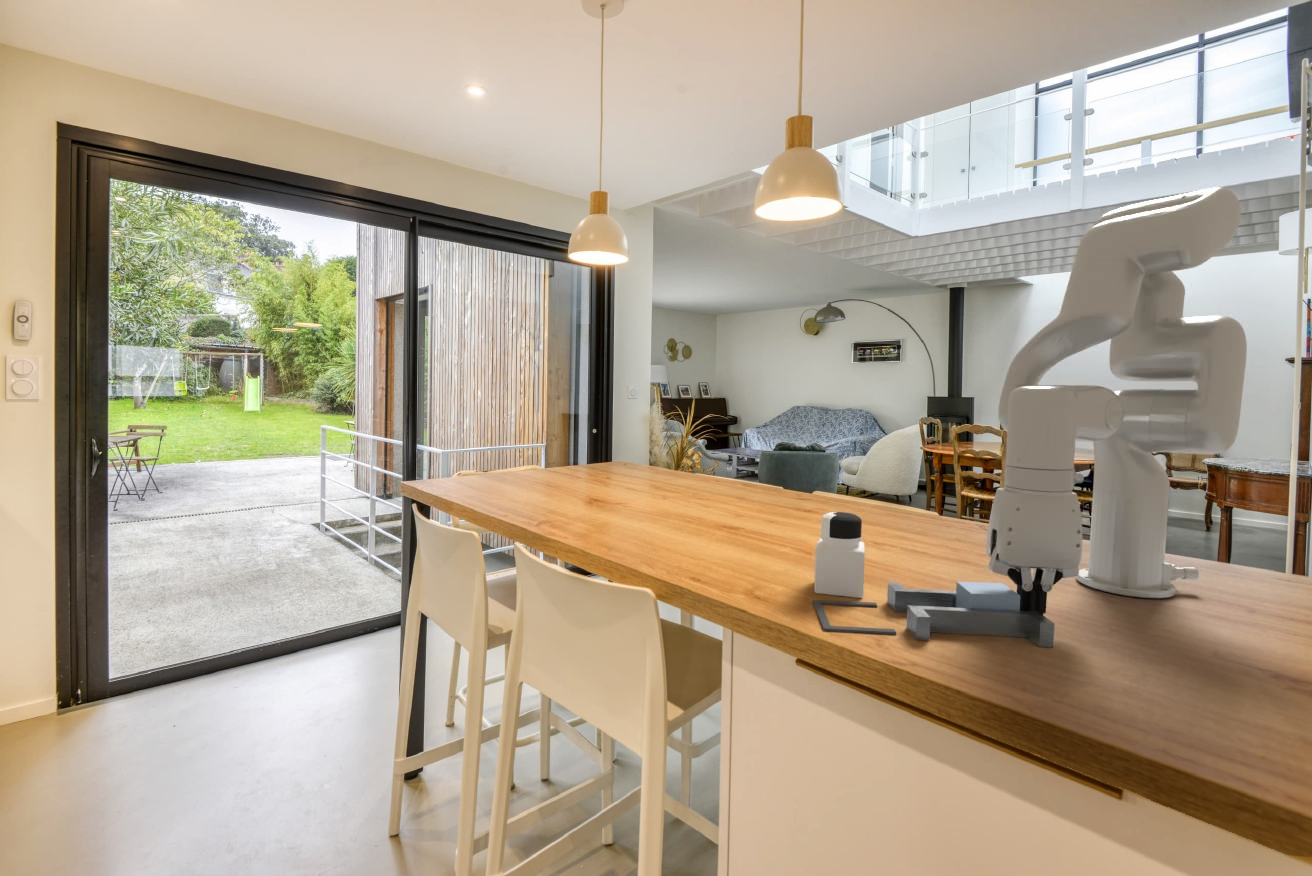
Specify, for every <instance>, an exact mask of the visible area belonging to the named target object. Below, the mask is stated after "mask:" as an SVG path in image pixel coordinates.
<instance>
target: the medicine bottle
mask: <svg viewBox="0 0 1312 876" xmlns="http://www.w3.org/2000/svg"><path fill="white" fill-rule="evenodd" d="M862 523H863V521H862V518H861V517H860V516H858V515H857V514H855V513H850V512H844V511H843V512H842V511H833V512H830V511H829V512H827V513H825V514H823V515H822V516H821V520H820V538H819V539H818V541H817V543H816V547H815V549H814V551H815V553H814V554H815V556H814V560H815V561H814V592H815V594H819V595H820V594H821V595H830V596H839V597H846V598H855V599H856V598H857V599H862V598H863V597H864V586H865V585H864V584H865V581H864V580H865V555H866V553H865V552H866V551H865V544H866V543H865V542H864V541H862V529H863V527H862V526H863V525H862Z"/></svg>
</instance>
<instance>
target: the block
mask: <svg viewBox="0 0 1312 876" xmlns="http://www.w3.org/2000/svg"><path fill="white" fill-rule="evenodd" d="M955 586H956V590H955V591H956V608H974V609H995V610H1016V611H1020V595H1019V594H1017V591H1015V590H1013V589H1011V588H1010V587H1008V586H1007V585H1006V584H1004V583H1003V582H1001V583H1000V582H980V581H979V582H975V581H956V585H955Z"/></svg>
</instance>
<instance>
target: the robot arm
mask: <svg viewBox="0 0 1312 876" xmlns="http://www.w3.org/2000/svg"><path fill="white" fill-rule="evenodd" d="M1241 208H1242V207H1241V205H1240V201H1239V198H1238V197H1237V195H1236V194H1235V193H1234V192H1233V191H1231V190H1230V189H1228V188H1226V187H1211V188H1206V189H1200V190H1197V191H1192V192H1188V193H1182V194H1178V195H1174V196H1168V197H1164V198H1158V199H1153V200H1152V199H1151V200H1148V201H1143V202H1139V203H1134V204H1130V205H1127V206H1123V207H1119V208H1117V209H1114V210H1111V211H1109V212H1106V213H1104V214H1103V215H1101V216H1100V217H1098V218H1097V220H1096V221H1095V222H1094V224H1093V226H1092V227H1091V228H1090V229H1088V230H1087V231H1086V232H1085V233H1084V234H1083V236H1082V238H1081V239H1080V242H1079V244H1078V247H1077V251H1076V253H1075V258H1074V261H1073V265H1072V268H1071V271H1070V274H1069V279H1068V282H1067V286H1066V288H1065V289H1066V291H1065V293H1064V296H1063V300H1062V302H1061V303H1062V304H1061V308H1060V311H1059V314H1058V315H1057V316H1056V317H1055V318H1054V319H1053V320H1052V321H1051V322H1049V323H1048V324H1047V325H1045V326H1044V327H1043V328H1042V329H1040V330H1039V331H1038V332H1037V333H1036V334H1034V335H1033V337H1031V338H1030V339H1029V340H1028V341H1027V342H1026V343H1025V345H1024V346H1022V347H1021V349H1020V350H1019V351H1018V352H1017V354H1016V355H1015V356H1014V357H1013V359H1012V360H1011V363H1010V364H1009V366H1008V367H1009V368H1008V369H1007V373H1006V375H1005V380H1004V382H1003V385H1002V386H1003V387H1002V389H1001V393H1000V396H999V401H998V402H999V403H998V409H997V410H998V413H997V414H998V421H999V424H1000V426H1001V428H1002V429H1003V430H1004V432H1006V434H1007V435H1006V449H1005V450H1006V451H1005V453H1006V454H1005V467H1004V468H1005V470H1004V486H1003V487H998V488H997V489H996V492H995V495H994V499H993V502H992V506H991V510H990V517H989V521H988V527H987V528H988V529H987V536H986V554H987V556H988V557H990V559H989V562H988V566H987V568H988V570H990V571H991V572H992V573H995V574H998V575H1001V576H1006V577H1008V578H1009V579H1010V580H1011V581H1012V582H1013V583H1014V585H1016V593H1017V594H1019V595H1020V611H1036V612H1039V613H1041V614H1042V615H1043V616H1044V614H1046V612H1047V602H1048V601H1047V597H1048V593H1049V592H1051V591H1052V590H1053V586H1055V585H1056V584H1057V583H1058V582H1059V581H1061V580H1062V579H1068V578H1073V577H1075V578H1076V580H1077V581H1078V582H1080V583H1081V584H1083V585H1085V586H1087V587H1090V588H1092V589H1095V590H1098V591H1102V592H1107V593H1111V594H1116V595H1120V596H1127V597H1133V598H1134V597H1135V598H1142V599H1144V598H1145V599H1167V598H1172V597H1174V596H1175V595H1176V588H1177V587H1176V586H1175V585H1174V584H1173V583H1171V582H1174V581H1176V580H1177V579H1181V580H1192V581H1196V580H1198V578H1199V577H1200V576H1199V575H1200V574H1199V571H1198V569H1197V567H1194V566H1193V567H1192V566H1191V567H1190V566H1179V567H1178V566H1177V565H1176V564H1172V563H1170V562H1167V561H1166V560H1165V557H1166V544H1167V543H1166V542H1167V528H1168V516H1169V502H1170V489H1171V483H1170V479H1169V478H1170V477H1169V476H1168V473H1167V472H1166V470H1165V468H1164V467H1163V466H1162V464H1160V462H1159V461H1158V460H1157V459H1156V457H1155V456H1154V455H1153V453H1174V454H1175V453H1176V454H1186V455H1187V454H1188V455H1189V454H1191V455H1219V454H1223V453H1225V452H1227V451H1229V450H1230V449H1231V447H1232V446H1233V445H1234V444H1235V442H1236V438H1237V435H1238V433H1239V432H1238V431H1239V426H1240V420H1241V419H1240V417H1241V410H1242V401H1243V391H1244V382H1245V374H1246V365H1247V350H1248V349H1247V347H1248V346H1247V335H1246V333H1245V331H1244V328H1243V326H1242V324H1240V323H1241V322H1239V321H1238V320H1236V319H1235V318H1233V317H1230V316H1224V315H1204V316H1192V317H1191V316H1189V317H1184V315H1183V314H1184V305H1185V304H1184V303H1185V297H1186V296H1185V295H1186V288H1185V285H1184V283H1183V281H1182V280H1181V279H1180V278H1179V276H1177V274H1176V273H1175V272H1176V271H1183V270H1188V269H1194V268H1196V267H1197V268H1198V267H1199V266H1201V265H1203V264H1204V263H1206V262H1208V261H1209V260H1210V259H1211V258H1212V257H1214V256H1215V255H1217V254H1219V252H1220V251H1221V250H1223V249H1224V248H1225V247H1227V245H1228V244H1230V243H1231V241H1232V240H1233V238H1234V237H1235V235H1236V234H1237V231H1238V229H1239V227H1240V223H1241V218H1242V217H1241V216H1242V211H1241ZM1108 340H1110V345H1109V358H1108V359H1109V369H1110V371H1111V373H1112V375H1113V376H1114V377H1116V378H1117V379H1120V380H1123V381H1129V382H1193V383H1196V385H1197V389H1165V388H1163V389H1156V388H1155V389H1151V388H1150V389H1149V388H1148V389H1146V388H1145V389H1143V388H1142V389H1138V388H1137V389H1136V388H1135V389H1120V390H1115V391H1114V390H1112V389H1109V388H1107V387H1104V386H1101V385H1094V384H1092V385H1091V384H1090V385H1088V384H1087V385H1086V384H1085V385H1083V384H1082V385H1081V384H1079V385H1078V384H1077V385H1073V384H1072V385H1071V384H1070V385H1066V384H1057V385H1056V384H1050V385H1049V384H1048V385H1047V384H1045V385H1044V384H1043V385H1041V384H1040V385H1039V383H1040V382H1041V380H1042V378H1043V377H1044V376H1045V374H1047V373H1048V371H1049V370H1050V369H1051V368H1053V367H1054V366H1055V365H1057V364H1058V363H1059V362H1062V361H1063V360H1065V359H1066V358H1067V359H1068V358H1069V357H1071V356H1073V355H1075V354H1077V353H1080V352H1083V351H1085V350H1087V349H1089V348H1092V347H1095V346H1097V345H1099V344H1101V343H1104V342H1106V341H1108ZM1076 442H1088V443H1089V442H1092V445H1093V455H1094V456H1093V457H1094V458H1093V460H1094V463H1093V464H1094V468H1093V486H1092V488H1093V489H1092V501H1091V502H1092V503H1091V505H1092V506H1091V517H1090V518H1091V519H1090V520H1091V521H1090V535H1089V536H1090V537H1089V552H1088V553H1089V554H1088V567H1086V568H1082V569H1079V566H1080V564H1081V561H1082V557H1083V521H1082V520H1083V519H1082V512H1081V507H1080V502H1079V501H1080V500H1079V497H1078V494H1077V492H1073V489H1075V485H1076V484H1082V483H1083V482H1084V479H1085V478H1084V474H1083V473H1082V472H1076V468H1075V455H1076V454H1075V452H1076V450H1075V449H1076ZM1032 569H1033V573H1032Z"/></svg>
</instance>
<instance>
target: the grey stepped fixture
mask: <svg viewBox="0 0 1312 876" xmlns="http://www.w3.org/2000/svg"><path fill="white" fill-rule="evenodd" d="M886 595H887V599H886V601H887V604H888V605H889V606H890V608H891V609H892V611H893V612H895V613H906V629H907V631H908V632H910V634H911V636H913V638H914V640H916V641H930V633H936V634H937V633H939V634H956V635H973V636H974V635H976V636H993V637H994V636H995V637H996V636H998V637H1015V638H1028V639H1029V640H1030V641H1032V643H1034V644H1035V645H1037V646H1038V647H1039V648H1040V647H1042V648H1054V640H1055V622H1053V621H1052V620H1050V618H1048V617H1046V616H1045V615H1044V614H1043V615H1042V614H1041V613H1039V612H1036V611H1016V610H995V609H974V608H956V590H940V589H939V590H938V589H923V588H922V589H920V588H919V589H918V588H905V587H904V586H903V585H902V584H901V583H900V582H893V581H888V582H887V594H886Z"/></svg>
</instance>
